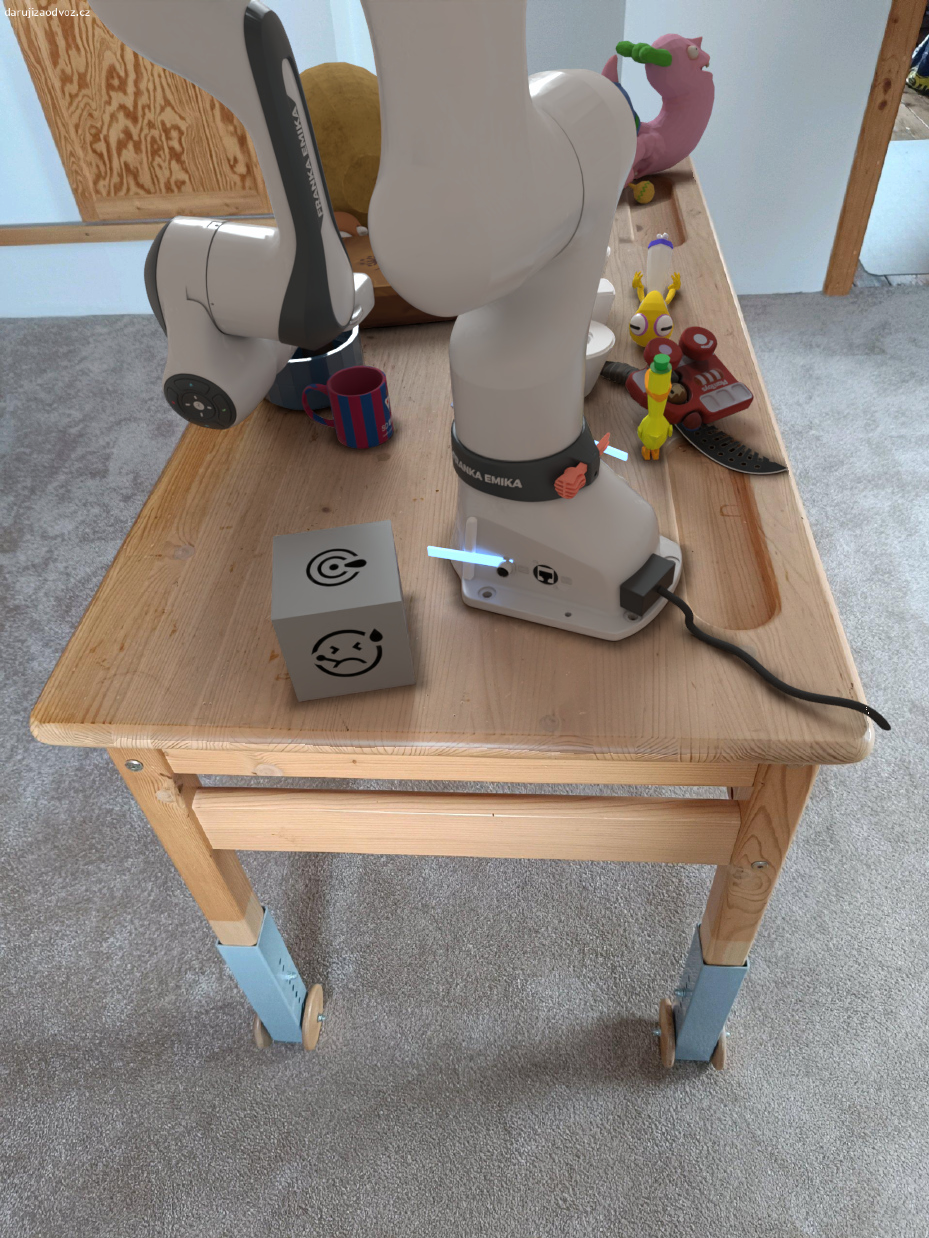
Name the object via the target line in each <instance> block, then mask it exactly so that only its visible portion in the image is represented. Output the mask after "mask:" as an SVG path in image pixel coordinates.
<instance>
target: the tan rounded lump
mask: <svg viewBox="0 0 929 1238" xmlns="http://www.w3.org/2000/svg"><path fill="white" fill-rule="evenodd" d="M299 75H300V78H301V82H302V86H303V90H304V93H305V97H306V101H307V105H308V109H309V113H310V117H311V121H312V125H313V129H314V133H315V138H316V142H317V146H318V150H319V154H320V158H321V162H322V166H323V171H324V175H325V179H326V183H327V187H328V191H329V195H330V200H331V204H332V208H333V212H337V211H340V212H346V213H349V214H351V215H353V216H354V217H355V218H356V219H357V220H358V221H359V223H360V225H361V227H365V228H366V229H367V230H368V210H369V205H370V200H371V197H372V194H373V191H374V187H375V184H376V180H377V176H378V171H379V165H380V156H381V117H380V103H379V91H378V82H377V74H374V73H373V72H371V71H370V70H368V69H367V68H365V67H363V66H360V65H356V64H353V63H350V62H347V61H335V62H333V61H332V62H330V61H329V62H323V63H320V64H317V65H314V66H311V67H309V68H306V69H304V70H303V71H302V72H299Z"/></svg>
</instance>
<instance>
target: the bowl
mask: <svg viewBox="0 0 929 1238" xmlns="http://www.w3.org/2000/svg"><path fill="white" fill-rule="evenodd" d="M361 337H362V336H361V330H360V329H359V325H357V326H356V327H355V328H353V329H351V330H349V331H346V332H342V333H341V334H340V335H339V336H338V337H336V338H335V339H334V340H332V341H333V346H334V350H332V351H330V352H328V353H325V354H323V355H319V356H315V357H311V358H306V359H303V356H302V351H301V348H300V347H298V348H297V350H296V351H295V353H294V354H293V356H292V357H291V359H290V360H289V362H288V363H287V365H286V366H285V367H284V368H283V369H282V370H281V371H280V372H279V373H278V374H276V378H275V381H274V383H273V385H272V387H271V388H270V390H269V391H268V393H267V394H266V396H265V397H264V398H265V399H266V400H267V401H268V402H269V403H271V404H272V405H276V406H279V407H281V408H285V409H288V410H294V411H305V410H304V407H303V404H302V394H303V391H304V389H305V388H306V387H307V386H308V385H311V384H322V385H326V386H327V381H328V379H329V378H330V377H331V376H332V375H333V374H334V373H336V372H338V371H340V370H342V369H345V368H348V367H353V366H366V360H365V355H364V349H363V342H362V338H361ZM307 401H308V404H309V407H310V408H311V410H312V411H315V410H321V409H325V408H329V407H331V405H330V400H329V397H328V395H326V394H324V393H323V392H321V391H318V390H311V391H309V392H308V393H307Z"/></svg>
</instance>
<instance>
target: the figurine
mask: <svg viewBox="0 0 929 1238" xmlns="http://www.w3.org/2000/svg"><path fill="white" fill-rule="evenodd" d="M334 215H335V219H336V222H337V226H338V228H339V231H340V234H341V237H352V236H363V235H368V234H369V232H368V230H367V229H366V228H365V227H361V225H360V223H359V221H358V220H357V219H356V218H355V217H354V216H353V215H351V214H349V213H346V212H340V211H337V212H334Z"/></svg>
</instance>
